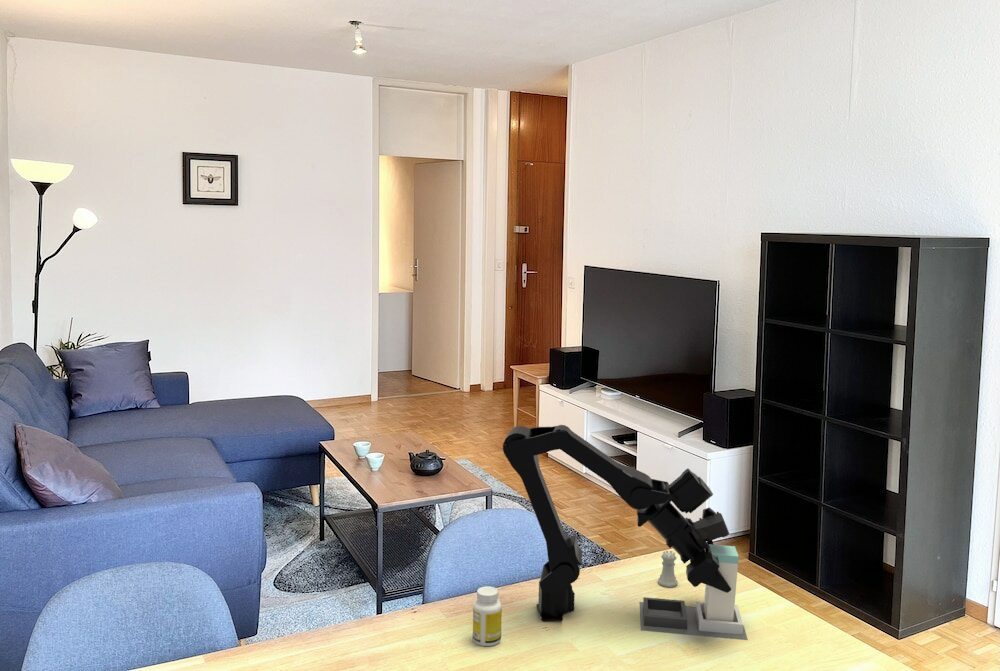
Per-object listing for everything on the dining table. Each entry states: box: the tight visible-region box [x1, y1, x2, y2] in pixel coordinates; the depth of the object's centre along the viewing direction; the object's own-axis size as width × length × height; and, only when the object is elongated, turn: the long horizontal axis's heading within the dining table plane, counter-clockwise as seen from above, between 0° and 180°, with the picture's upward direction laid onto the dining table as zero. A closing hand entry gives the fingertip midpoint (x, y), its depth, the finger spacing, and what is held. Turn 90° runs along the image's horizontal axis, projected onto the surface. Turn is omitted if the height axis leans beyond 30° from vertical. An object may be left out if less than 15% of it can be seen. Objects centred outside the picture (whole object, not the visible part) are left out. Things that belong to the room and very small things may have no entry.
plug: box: [704, 544, 740, 622], centre depth 161 cm, size 5×5×14 cm
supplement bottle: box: [472, 586, 503, 647], centre depth 155 cm, size 5×5×10 cm
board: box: [639, 596, 749, 641], centre depth 163 cm, size 20×12×3 cm, turn 82°
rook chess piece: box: [657, 550, 679, 588], centre depth 179 cm, size 4×4×8 cm
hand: (727, 585), depth 161 cm, fingers closed on plug, 5 cm apart
